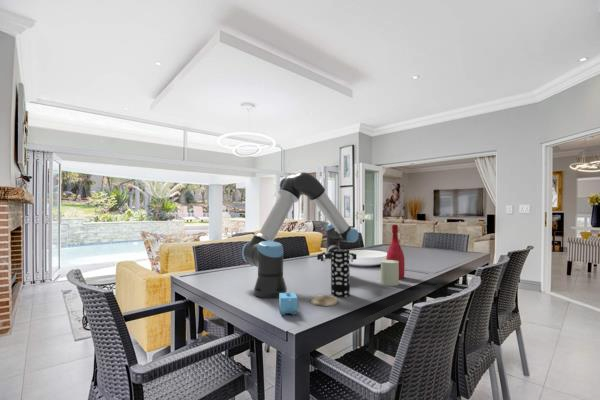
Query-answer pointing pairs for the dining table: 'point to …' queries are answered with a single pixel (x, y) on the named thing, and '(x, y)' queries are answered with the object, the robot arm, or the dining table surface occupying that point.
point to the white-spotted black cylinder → (340, 273)
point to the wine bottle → (396, 251)
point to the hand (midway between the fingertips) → (338, 259)
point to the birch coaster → (324, 300)
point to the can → (389, 272)
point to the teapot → (288, 303)
